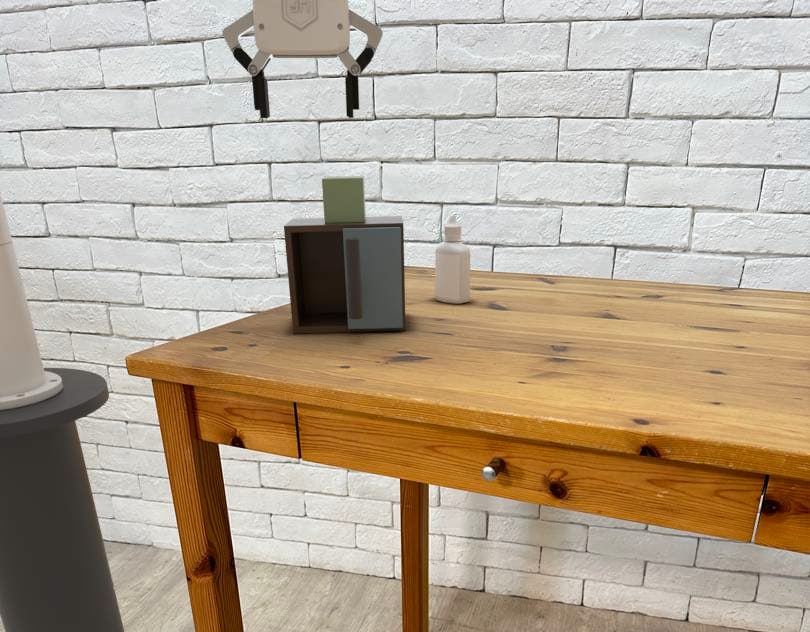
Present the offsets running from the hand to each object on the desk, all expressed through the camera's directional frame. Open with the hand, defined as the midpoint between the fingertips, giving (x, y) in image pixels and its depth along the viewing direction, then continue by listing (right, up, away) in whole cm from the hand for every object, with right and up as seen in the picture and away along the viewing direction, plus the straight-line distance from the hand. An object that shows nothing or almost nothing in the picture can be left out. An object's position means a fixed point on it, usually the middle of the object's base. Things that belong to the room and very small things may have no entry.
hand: (307, 117), depth 87 cm
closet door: (+7, -22, +9) cm, 25 cm away
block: (+3, -7, +10) cm, 13 cm away
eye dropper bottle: (+18, -12, +29) cm, 36 cm away
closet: (+4, -19, +16) cm, 25 cm away
